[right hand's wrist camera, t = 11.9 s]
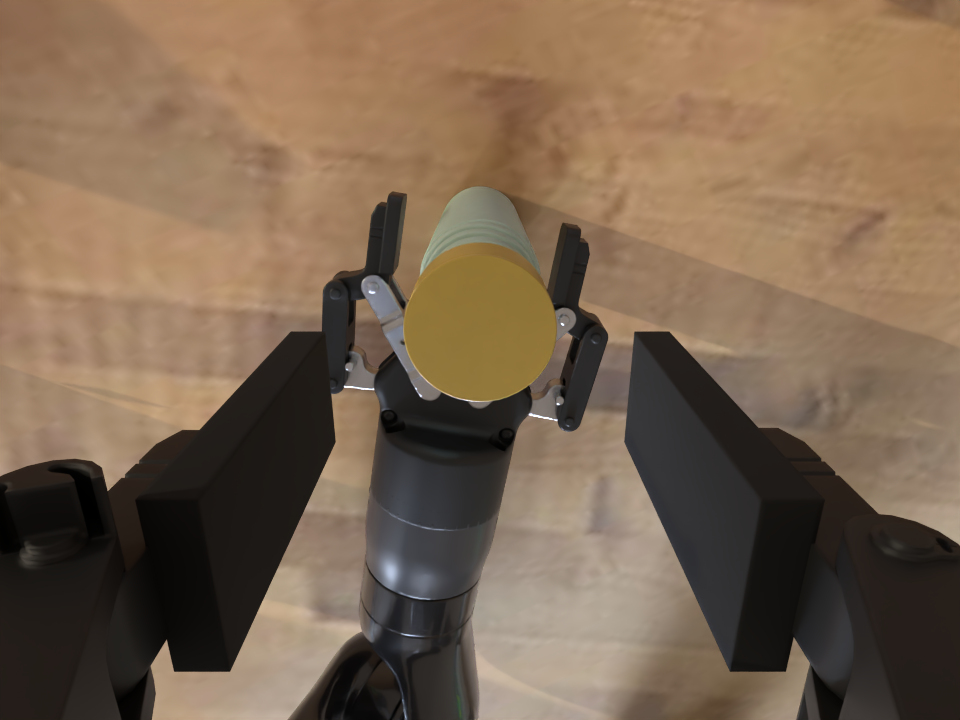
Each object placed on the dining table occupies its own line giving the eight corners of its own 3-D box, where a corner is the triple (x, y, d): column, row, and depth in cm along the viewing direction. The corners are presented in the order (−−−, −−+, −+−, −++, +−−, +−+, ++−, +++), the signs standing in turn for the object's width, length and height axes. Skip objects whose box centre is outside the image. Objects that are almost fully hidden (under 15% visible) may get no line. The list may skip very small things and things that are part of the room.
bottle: (446, 269, 38) (414, 407, 19) (435, 191, 36) (388, 259, 17) (522, 260, 38) (564, 391, 19) (515, 181, 36) (553, 239, 17)
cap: (422, 383, 21) (416, 409, 19) (400, 251, 19) (391, 265, 17) (554, 368, 20) (562, 393, 19) (543, 233, 19) (551, 246, 17)
